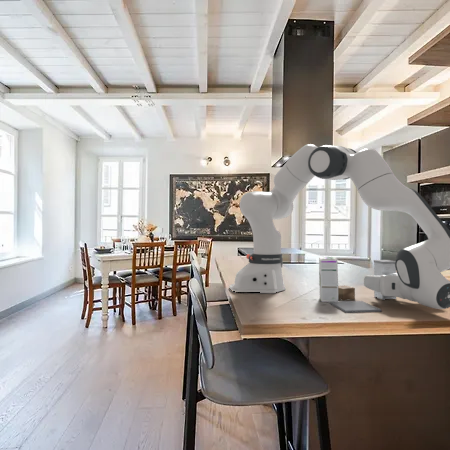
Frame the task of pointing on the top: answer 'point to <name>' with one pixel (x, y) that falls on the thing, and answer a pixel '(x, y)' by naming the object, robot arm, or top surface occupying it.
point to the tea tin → (381, 269)
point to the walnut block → (346, 292)
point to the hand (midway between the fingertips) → (382, 277)
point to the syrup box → (328, 279)
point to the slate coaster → (355, 306)
